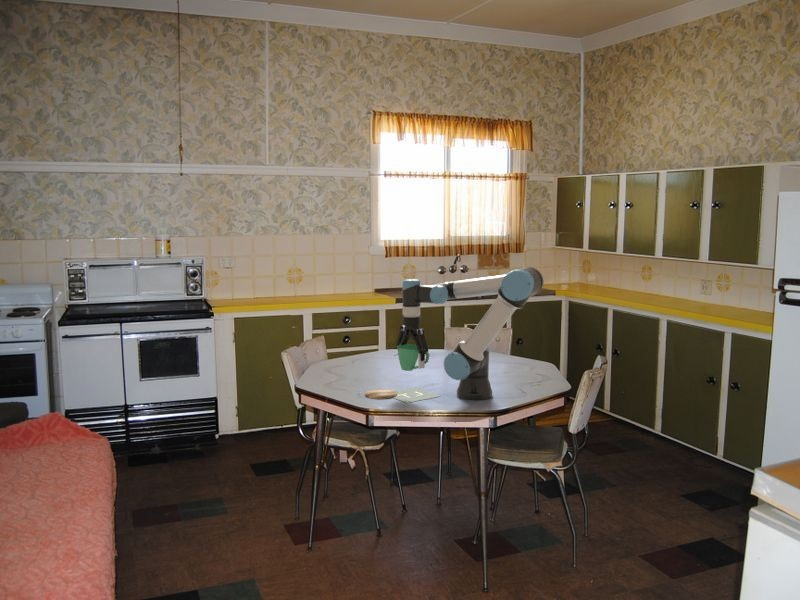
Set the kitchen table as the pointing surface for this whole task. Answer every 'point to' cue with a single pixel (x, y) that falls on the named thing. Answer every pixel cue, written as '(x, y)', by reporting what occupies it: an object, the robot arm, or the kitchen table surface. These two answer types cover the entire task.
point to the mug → (409, 356)
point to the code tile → (414, 395)
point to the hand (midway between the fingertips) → (412, 365)
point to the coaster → (381, 394)
